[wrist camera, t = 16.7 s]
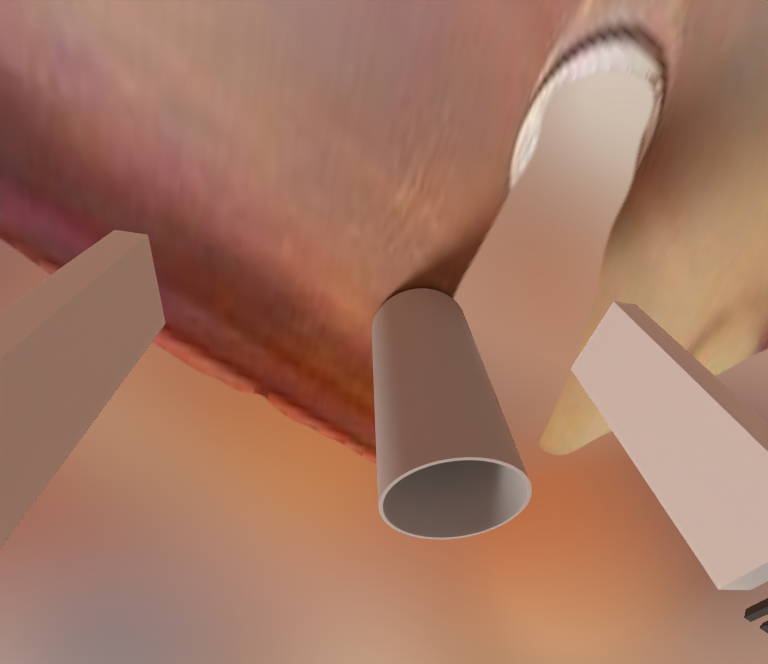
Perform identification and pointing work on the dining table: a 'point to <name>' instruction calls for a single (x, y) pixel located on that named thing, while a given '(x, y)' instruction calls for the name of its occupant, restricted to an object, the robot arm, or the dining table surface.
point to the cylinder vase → (439, 424)
